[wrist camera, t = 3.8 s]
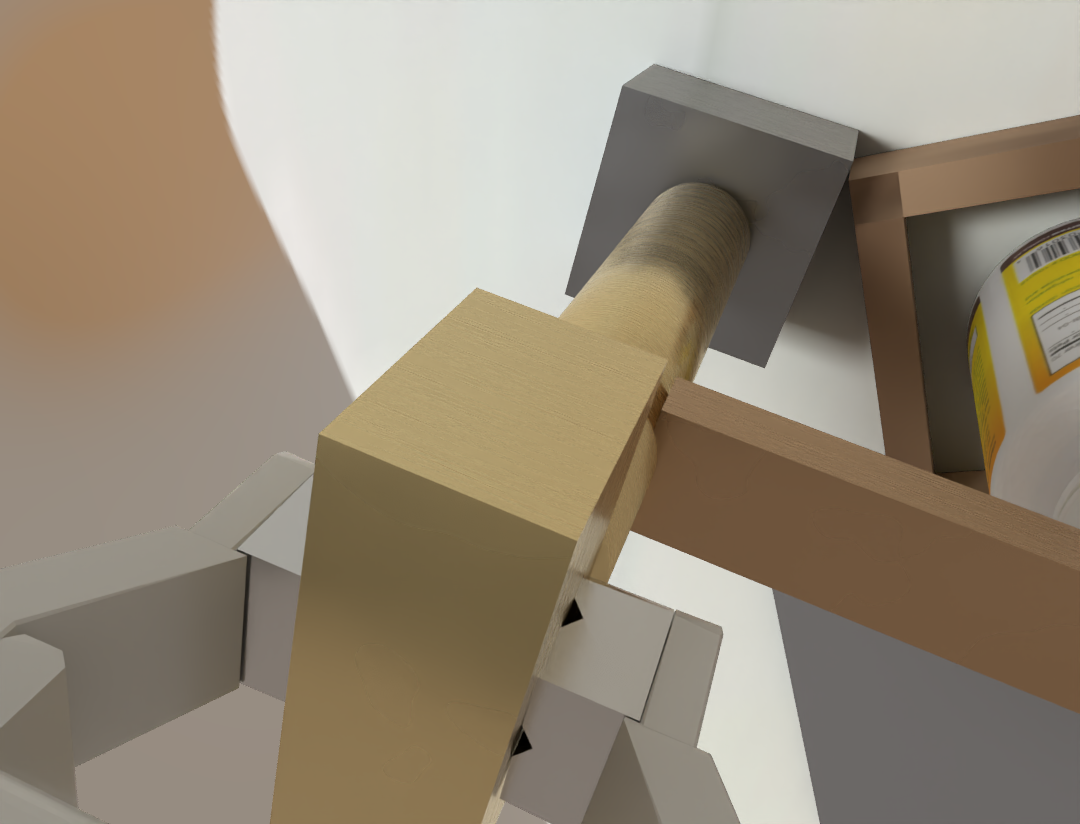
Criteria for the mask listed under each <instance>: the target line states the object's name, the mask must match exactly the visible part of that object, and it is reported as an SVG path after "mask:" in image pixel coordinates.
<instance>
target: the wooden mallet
mask: <svg viewBox="0 0 1080 824" xmlns="http://www.w3.org/2000/svg"><path fill="white" fill-rule="evenodd" d="M749 246H750V228H749V224H748V221H747V218H746V216H745V213H744V212H743V210H742V208H741V207H740V206H739V204H738V203H737V202H736V201H735V200H734V199H733V198H732V197H731V196H730V195H729V194H727V193H726V192H724V191H723V190H721V189H719V188H717V187H714V186H712V185H708V184H703V183H685V184H680V185H677V186H674V187H672V188H669V189H668V190H666V191H664V192H663V193H661V194H660V195H659V196H658V197H657V198H656V199H655V200H654V201H653V202H652V203H651V204H650V206H649V207H648V208H647V209H646V210H645V212H644V213H643V214H642V215H641V217H640V218H639V219H638V220H637V222H636V223H635V224H634V225H633V226H632V228H631V229H630V230H629V231H628V233H627V234H626V235H625V236H624V238H623V239H622V240H621V241H620V243H619V244H618V245H617V246H616V247H615V249H614V250H613V251H612V252H611V254H610V255H609V256H608V257H607V259H606V260H605V261H604V262H603V264H602V265H601V266H600V267H599V268H598V270H597V271H596V272H595V273H594V275H593V276H592V277H591V278H590V280H589V281H588V282H587V283H586V285H585V286H584V287H583V288H582V289H581V291H580V292H579V293H578V294H577V296H576V297H575V298H574V299H573V301H572V302H571V303H570V304H569V306H568V307H567V308H566V309H565V310H564V312H563V313H562V314H561V315H560V317H559V318H556V317H554V316H551V315H548V314H546V313H543V312H540V311H538V310H535V309H532V308H530V307H527V306H524V305H522V304H519V303H516V302H514V301H511V300H508V299H506V298H503V297H500V296H498V295H495V294H492V293H490V292H487V291H484V290H482V289H479V288H476V289H475V290H474V291H473V292H472V293H471V294H469V295H468V296H467V297H466V298H465V299H464V300H463V301H462V302H461V303H460V304H459V305H458V306H456V307H455V308H454V309H453V310H452V311H451V312H450V313H449V314H448V315H447V316H446V317H445V318H443V319H442V320H441V321H440V322H439V323H438V324H437V325H436V326H435V327H434V328H433V329H432V330H431V331H429V332H428V333H427V334H426V335H425V336H424V337H423V338H422V339H421V340H420V341H419V342H418V343H416V344H415V345H414V346H413V347H412V348H411V349H410V350H409V351H408V352H407V353H406V354H405V355H404V356H402V357H401V358H400V359H399V360H398V361H397V362H396V363H395V364H394V365H393V366H392V367H391V368H389V369H388V370H387V371H386V372H385V373H384V374H383V375H382V376H381V377H380V378H379V379H378V380H376V381H375V382H374V383H373V384H372V385H371V386H370V387H369V388H368V389H367V390H366V391H365V392H364V393H362V394H361V395H360V396H359V397H358V398H357V399H356V400H355V401H354V402H353V403H352V404H351V405H349V406H348V407H347V408H346V409H345V410H344V411H343V412H342V413H341V414H340V415H339V416H338V417H337V418H335V419H334V420H333V421H332V422H331V423H330V424H329V425H328V426H327V427H326V428H325V429H324V430H322V431H321V432H320V433H319V436H318V444H317V452H316V460H315V468H314V476H313V484H312V492H311V500H310V508H309V516H308V524H307V532H306V540H305V548H304V556H303V564H302V572H301V580H300V588H299V595H298V603H297V611H296V619H295V627H294V635H293V643H292V651H291V659H290V667H289V675H288V683H287V691H286V699H285V708H284V715H283V723H282V731H281V740H280V747H279V755H278V763H277V772H276V779H275V787H274V795H273V803H272V811H271V819H270V824H496V821H497V819H498V817H499V815H500V812H501V810H502V808H503V805H504V803H505V801H504V800H501V799H499V798H500V795H501V792H502V788H503V785H504V782H505V778H506V775H507V772H508V768H509V765H510V762H511V758H512V755H513V753H514V751H515V749H516V746H517V744H518V742H519V740H520V737H521V735H522V733H523V731H524V729H523V726H522V724H523V720H524V717H525V714H526V711H527V708H528V705H529V702H530V699H531V696H532V693H533V690H534V687H535V684H536V681H537V678H538V676H539V674H540V671H541V669H542V667H543V665H544V663H545V661H546V659H547V656H548V654H549V652H550V650H551V648H552V646H553V643H554V641H555V639H556V637H557V635H558V633H559V631H560V628H561V627H564V626H565V624H566V621H567V618H568V615H569V613H570V610H571V607H572V604H573V601H574V598H575V596H576V594H577V592H578V590H579V588H580V585H581V583H582V581H583V579H584V578H585V576H586V575H588V576H590V577H593V578H595V579H598V580H600V581H603V582H605V583H608V581H609V578H610V576H611V573H612V571H613V569H614V566H615V564H616V562H617V559H618V557H619V555H620V552H621V550H622V548H623V545H624V543H625V541H626V538H627V536H628V534H629V531H630V530H631V531H633V532H636V533H638V534H640V535H643V536H645V537H648V538H650V539H653V540H655V541H658V542H660V543H662V544H665V545H667V546H670V547H672V548H675V549H677V550H680V551H682V552H684V553H687V554H689V555H692V556H694V557H697V558H699V559H702V560H704V561H707V562H709V563H711V564H714V565H716V566H719V567H721V568H724V569H726V570H729V571H731V572H733V573H736V574H738V575H741V576H743V577H746V578H748V579H751V580H753V581H755V582H758V583H760V584H763V585H765V586H768V587H770V588H773V589H775V590H778V591H780V592H782V593H785V594H787V595H790V596H792V597H795V598H797V599H800V600H802V601H804V602H807V603H809V604H812V605H814V606H817V607H819V608H822V609H824V610H826V611H829V612H831V613H834V614H836V615H839V616H841V617H844V618H846V619H848V620H851V621H853V622H856V623H858V624H861V625H863V626H866V627H868V628H871V629H873V630H875V631H878V632H880V633H883V634H885V635H888V636H890V637H893V638H895V639H897V640H900V641H902V642H905V643H907V644H910V645H912V646H915V647H917V648H919V649H922V650H924V651H927V652H929V653H932V654H934V655H937V656H939V657H942V658H944V659H946V660H949V661H951V662H954V663H956V664H959V665H961V666H964V667H966V668H968V669H971V670H973V671H976V672H978V673H981V674H983V675H986V676H988V677H990V678H993V679H995V680H998V681H1000V682H1003V683H1005V684H1008V685H1010V686H1013V687H1015V688H1017V689H1020V690H1022V691H1025V692H1027V693H1030V694H1032V695H1035V696H1037V697H1039V698H1042V699H1044V700H1047V701H1049V702H1052V703H1054V704H1057V705H1059V706H1061V707H1064V708H1066V709H1069V710H1071V711H1074V712H1076V713H1079V714H1080V529H1078V528H1076V527H1073V526H1070V525H1068V524H1065V523H1063V522H1060V521H1057V520H1055V519H1052V518H1049V517H1047V516H1044V515H1041V514H1039V513H1036V512H1033V511H1031V510H1028V509H1026V508H1023V507H1020V506H1018V505H1015V504H1012V503H1010V502H1007V501H1004V500H1002V499H999V498H996V497H994V496H991V495H988V494H986V493H983V492H981V491H978V490H975V489H973V488H970V487H967V486H965V485H962V484H959V483H957V482H954V481H951V480H949V479H946V478H943V477H941V476H938V475H936V474H933V473H930V472H928V471H925V470H922V469H920V468H917V467H914V466H912V465H909V464H906V463H904V462H901V461H898V460H896V459H893V458H891V457H888V456H885V455H883V454H880V453H877V452H875V451H872V450H869V449H867V448H864V447H861V446H859V445H856V444H853V443H851V442H848V441H846V440H843V439H840V438H838V437H835V436H832V435H830V434H827V433H824V432H822V431H819V430H816V429H814V428H811V427H809V426H806V425H803V424H801V423H798V422H795V421H793V420H790V419H787V418H785V417H782V416H779V415H777V414H774V413H771V412H769V411H766V410H764V409H761V408H758V407H756V406H753V405H750V404H748V403H745V402H742V401H740V400H737V399H734V398H732V397H729V396H726V395H724V394H721V393H719V392H716V391H713V390H711V389H708V388H705V387H703V386H700V385H697V384H695V383H693V381H694V379H695V376H696V374H697V372H698V369H699V367H700V365H701V362H702V360H703V358H704V355H705V353H706V351H707V348H708V346H709V344H710V341H711V339H712V337H713V334H714V332H715V330H716V327H717V325H718V323H719V320H720V318H721V315H722V313H723V311H724V308H725V306H726V304H727V301H728V299H729V297H730V294H731V292H732V290H733V287H734V285H735V283H736V280H737V278H738V276H739V273H740V271H741V269H742V266H743V264H744V262H745V259H746V257H747V254H748V251H749Z"/></svg>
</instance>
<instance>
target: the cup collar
mask: <svg viewBox="0 0 1080 824" xmlns="http://www.w3.org/2000/svg"><path fill="white" fill-rule="evenodd" d="M849 188H850V196H851V203H852V210H853V218H854V225H855V232H856V240H857V247H858V255H859V262H860V269H861V277H862V284H863V291H864V299H865V306H866V314H867V321H868V328H869V336H870V343H871V350H872V358H873V365H874V373H875V380H876V387H877V395H878V402H879V409H880V417H881V424H882V432H883V439H884V446H885V454H886V456H888V457H891V458H893V459H896V460H898V461H901V462H904V463H906V464H909V465H912V466H914V467H917V468H920V469H922V470H925V471H928V472H930V473H933V474H936V475H938V476H941V477H943V478H946V479H949V480H951V481H954V482H957V483H959V484H962V485H965V486H967V487H970V488H973V489H975V490H978V491H981V492H983V493H986V494H988V495H989V488H988V483H987V476H986V470H983V471H966V472H949V473H935V470H934V462H933V453H932V444H931V435H930V426H929V417H928V408H927V400H926V391H925V382H924V373H923V364H922V355H921V346H920V338H919V329H918V320H917V311H916V302H915V293H914V284H913V276H912V267H911V258H910V249H909V240H908V231H907V222H906V217H909V216H915V215H921V214H927V213H933V212H939V211H945V210H951V209H957V208H963V207H969V206H975V205H982V204H988V203H994V202H1000V201H1006V200H1012V199H1018V198H1024V197H1030V196H1036V195H1042V194H1048V193H1054V192H1060V191H1066V190H1072V189H1078V188H1080V115H1077V116H1072V117H1067V118H1061V119H1056V120H1051V121H1046V122H1041V123H1036V124H1030V125H1025V126H1020V127H1015V128H1010V129H1004V130H999V131H994V132H989V133H984V134H979V135H973V136H968V137H963V138H958V139H953V140H947V141H942V142H937V143H932V144H927V145H922V146H916V147H911V148H906V149H901V150H896V151H891V152H885V153H880V154H875V155H870V156H865V157H859V158H854V160H853V163H852V165H851V170H850V175H849Z"/></svg>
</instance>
